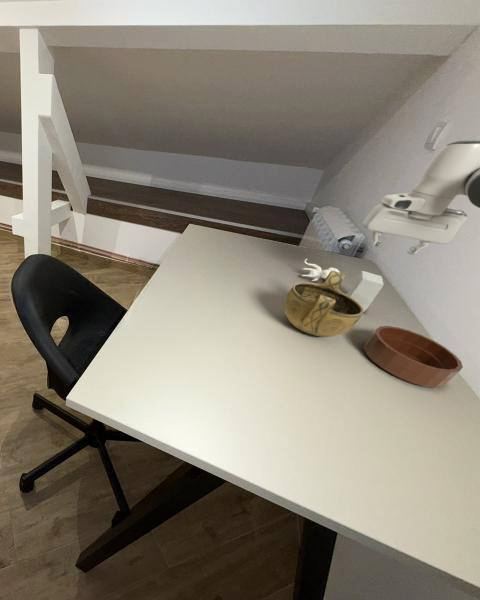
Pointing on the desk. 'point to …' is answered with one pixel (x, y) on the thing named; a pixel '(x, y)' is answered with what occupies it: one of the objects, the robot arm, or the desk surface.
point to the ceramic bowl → (322, 307)
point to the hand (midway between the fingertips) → (391, 249)
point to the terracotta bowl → (412, 356)
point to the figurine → (317, 272)
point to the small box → (365, 288)
